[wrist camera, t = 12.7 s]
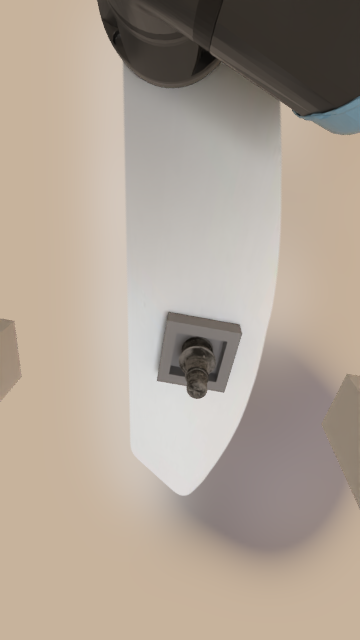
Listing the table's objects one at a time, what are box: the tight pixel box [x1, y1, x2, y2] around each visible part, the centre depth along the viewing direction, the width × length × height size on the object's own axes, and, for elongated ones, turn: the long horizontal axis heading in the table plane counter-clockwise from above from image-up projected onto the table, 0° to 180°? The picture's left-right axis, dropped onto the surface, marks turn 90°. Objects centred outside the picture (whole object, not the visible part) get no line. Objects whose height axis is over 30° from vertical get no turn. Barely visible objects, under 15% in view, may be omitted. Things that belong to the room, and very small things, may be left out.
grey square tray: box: [157, 312, 242, 392], centre depth 50 cm, size 12×12×3 cm
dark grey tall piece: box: [179, 337, 216, 399], centre depth 45 cm, size 6×6×12 cm
